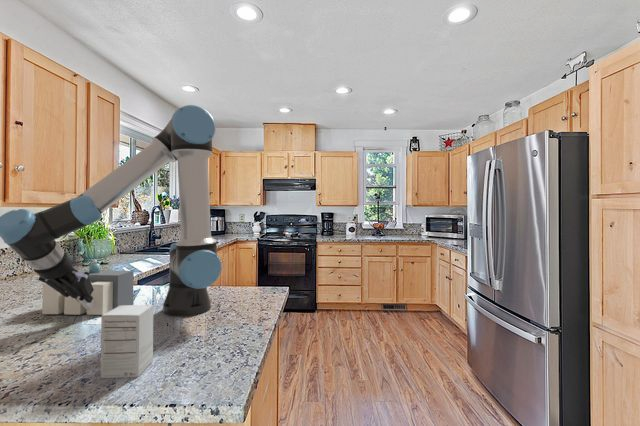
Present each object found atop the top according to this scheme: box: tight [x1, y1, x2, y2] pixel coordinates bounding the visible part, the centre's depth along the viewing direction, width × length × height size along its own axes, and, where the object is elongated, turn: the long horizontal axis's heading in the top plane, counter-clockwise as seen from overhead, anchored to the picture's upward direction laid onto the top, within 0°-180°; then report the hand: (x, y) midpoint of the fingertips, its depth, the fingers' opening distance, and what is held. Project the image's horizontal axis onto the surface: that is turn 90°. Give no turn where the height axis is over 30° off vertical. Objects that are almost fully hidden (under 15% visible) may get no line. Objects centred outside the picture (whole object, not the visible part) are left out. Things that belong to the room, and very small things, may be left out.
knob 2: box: [86, 281, 113, 316], centre depth 109 cm, size 5×13×10 cm, turn 0°
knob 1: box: [41, 282, 65, 315], centre depth 109 cm, size 5×13×10 cm, turn 0°
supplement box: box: [100, 304, 154, 379], centre depth 68 cm, size 7×7×13 cm
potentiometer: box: [88, 259, 101, 273], centre depth 112 cm, size 3×3×4 cm
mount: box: [63, 269, 135, 316], centre depth 110 cm, size 22×14×12 cm, turn 90°
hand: (91, 306), depth 101 cm, fingers closed
